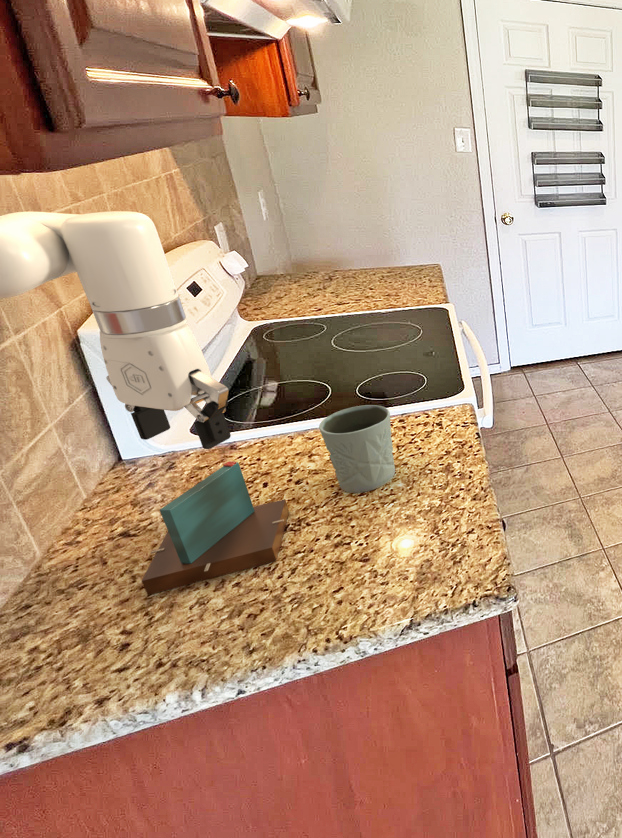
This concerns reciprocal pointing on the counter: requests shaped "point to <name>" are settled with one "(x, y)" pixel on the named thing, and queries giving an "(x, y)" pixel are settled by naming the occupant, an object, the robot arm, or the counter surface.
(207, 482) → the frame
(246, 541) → the frame stand
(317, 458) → the counter surface
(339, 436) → the drinking glass
